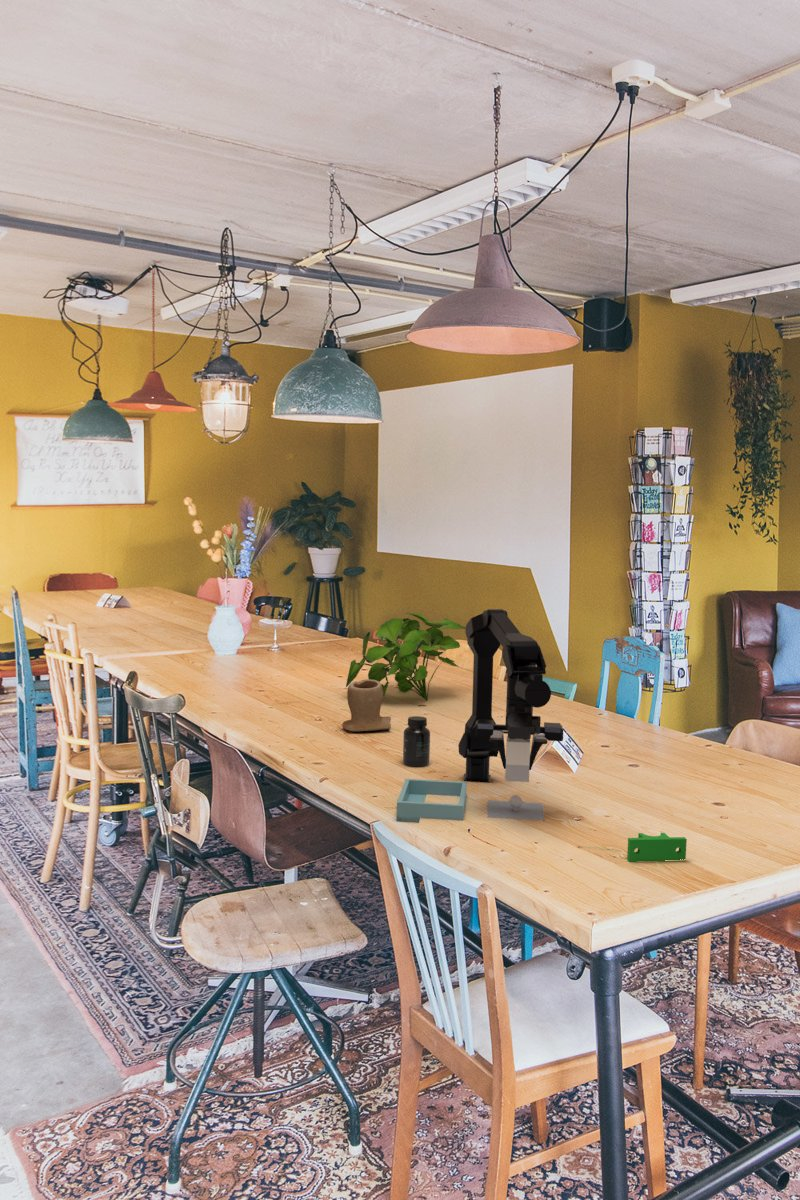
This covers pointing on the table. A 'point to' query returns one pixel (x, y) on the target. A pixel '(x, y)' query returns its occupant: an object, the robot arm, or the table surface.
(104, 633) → the table surface
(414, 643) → the indoor plant
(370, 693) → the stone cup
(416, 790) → the bin
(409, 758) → the supplement bottle
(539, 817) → the stud base
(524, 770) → the beige rectangular block
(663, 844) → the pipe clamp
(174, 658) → the table surface
